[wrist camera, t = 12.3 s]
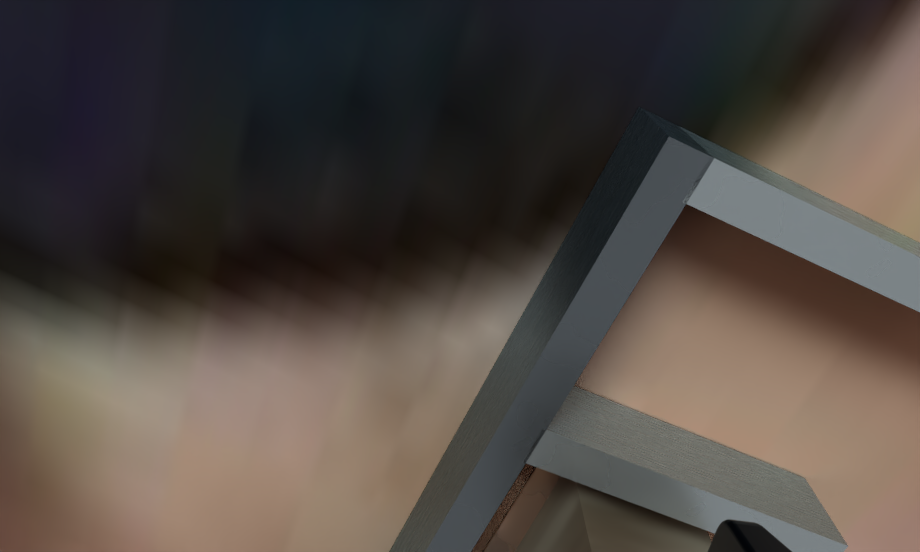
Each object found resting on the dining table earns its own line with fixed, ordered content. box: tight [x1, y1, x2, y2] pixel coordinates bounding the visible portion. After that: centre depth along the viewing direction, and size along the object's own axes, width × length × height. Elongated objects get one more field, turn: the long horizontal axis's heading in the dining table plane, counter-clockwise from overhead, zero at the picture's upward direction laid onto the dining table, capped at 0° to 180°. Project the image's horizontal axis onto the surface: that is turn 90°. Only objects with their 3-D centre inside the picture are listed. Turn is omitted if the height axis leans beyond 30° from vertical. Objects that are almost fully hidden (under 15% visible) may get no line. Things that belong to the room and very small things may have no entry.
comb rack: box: [390, 107, 920, 552], centre depth 23 cm, size 11×18×3 cm, turn 155°
